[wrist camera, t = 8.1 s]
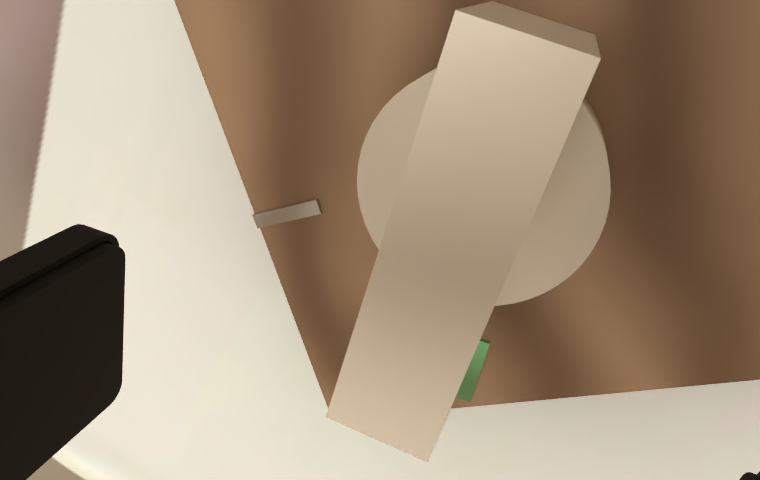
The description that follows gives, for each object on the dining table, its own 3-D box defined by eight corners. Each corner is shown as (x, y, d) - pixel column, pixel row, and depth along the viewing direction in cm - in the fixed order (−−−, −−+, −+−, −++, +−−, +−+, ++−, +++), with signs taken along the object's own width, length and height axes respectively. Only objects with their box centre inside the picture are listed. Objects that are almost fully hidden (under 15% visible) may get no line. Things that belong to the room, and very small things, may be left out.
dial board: (754, -261, 18) (769, -283, 17) (825, 350, 24) (841, 375, 22) (186, -26, 25) (161, -26, 24) (343, 400, 31) (331, 421, 29)
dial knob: (432, -26, 21) (341, -29, 13) (670, 52, 20) (730, 101, 12) (317, 362, 28) (213, 513, 20) (488, 436, 27) (449, 626, 19)
